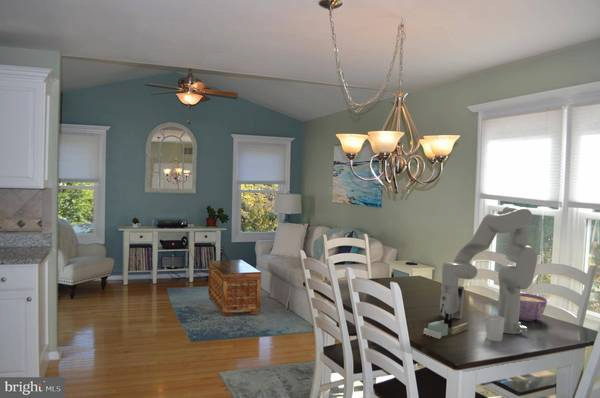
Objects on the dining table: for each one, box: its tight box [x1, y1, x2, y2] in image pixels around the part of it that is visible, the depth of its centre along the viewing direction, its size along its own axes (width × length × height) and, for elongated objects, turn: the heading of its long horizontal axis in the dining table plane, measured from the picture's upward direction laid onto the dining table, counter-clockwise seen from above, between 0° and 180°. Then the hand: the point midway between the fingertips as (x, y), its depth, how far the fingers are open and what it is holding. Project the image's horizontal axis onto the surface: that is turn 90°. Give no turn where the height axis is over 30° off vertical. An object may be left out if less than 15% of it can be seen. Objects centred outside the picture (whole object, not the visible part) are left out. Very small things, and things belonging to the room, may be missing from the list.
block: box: [427, 320, 449, 338], centre depth 231 cm, size 6×7×5 cm
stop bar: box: [423, 327, 442, 339], centre depth 228 cm, size 8×2×2 cm, turn 44°
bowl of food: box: [519, 292, 548, 322], centre depth 264 cm, size 20×20×12 cm
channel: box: [438, 319, 469, 336], centre depth 240 cm, size 10×14×3 cm
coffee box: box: [452, 285, 465, 320], centre depth 263 cm, size 9×6×16 cm
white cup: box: [485, 314, 505, 342], centre depth 227 cm, size 8×8×10 cm
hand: (447, 326), depth 237 cm, fingers closed
